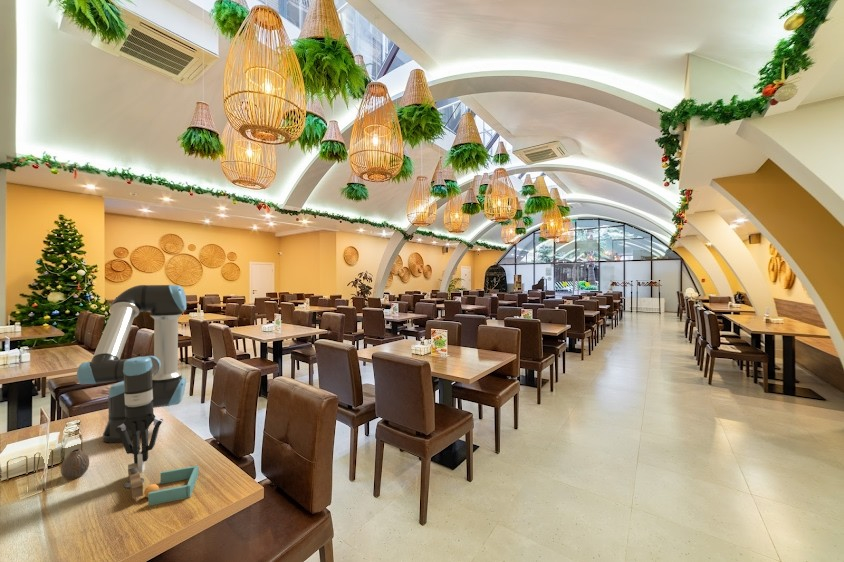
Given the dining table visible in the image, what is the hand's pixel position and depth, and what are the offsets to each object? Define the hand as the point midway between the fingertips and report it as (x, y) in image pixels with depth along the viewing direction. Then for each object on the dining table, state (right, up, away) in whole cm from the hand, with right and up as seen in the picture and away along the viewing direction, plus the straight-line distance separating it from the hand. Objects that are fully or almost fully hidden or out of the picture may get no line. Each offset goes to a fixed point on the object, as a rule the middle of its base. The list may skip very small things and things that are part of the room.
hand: (141, 470), depth 119 cm
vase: (-22, -1, -1) cm, 22 cm away
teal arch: (+17, -2, -8) cm, 19 cm away
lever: (+4, -1, -7) cm, 8 cm away
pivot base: (+2, -1, -5) cm, 6 cm away
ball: (+13, 0, -12) cm, 17 cm away
